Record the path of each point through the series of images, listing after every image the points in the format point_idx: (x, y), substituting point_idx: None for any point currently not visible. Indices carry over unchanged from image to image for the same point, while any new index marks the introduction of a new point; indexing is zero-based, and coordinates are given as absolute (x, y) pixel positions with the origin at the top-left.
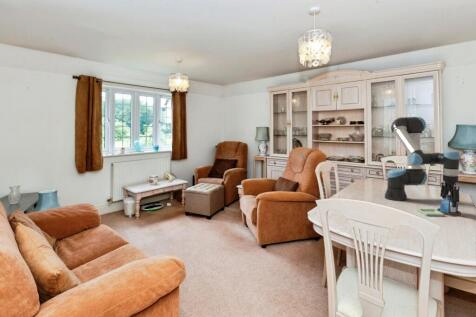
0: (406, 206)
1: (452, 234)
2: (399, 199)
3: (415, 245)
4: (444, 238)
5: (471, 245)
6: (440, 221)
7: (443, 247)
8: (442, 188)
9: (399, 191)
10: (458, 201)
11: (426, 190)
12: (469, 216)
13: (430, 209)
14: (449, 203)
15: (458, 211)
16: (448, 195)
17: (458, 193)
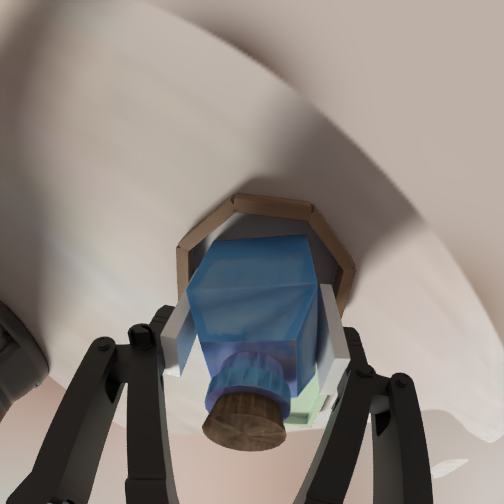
0: None
1: (481, 408)
2: (40, 362)
3: (459, 460)
4: (478, 426)
5: None
6: None
7: (491, 434)
8: (95, 473)
9: (10, 384)
10: (408, 386)
11: None
12: (369, 176)
13: None
14: (308, 378)
15: (283, 214)
16: (267, 449)
17: (425, 479)
